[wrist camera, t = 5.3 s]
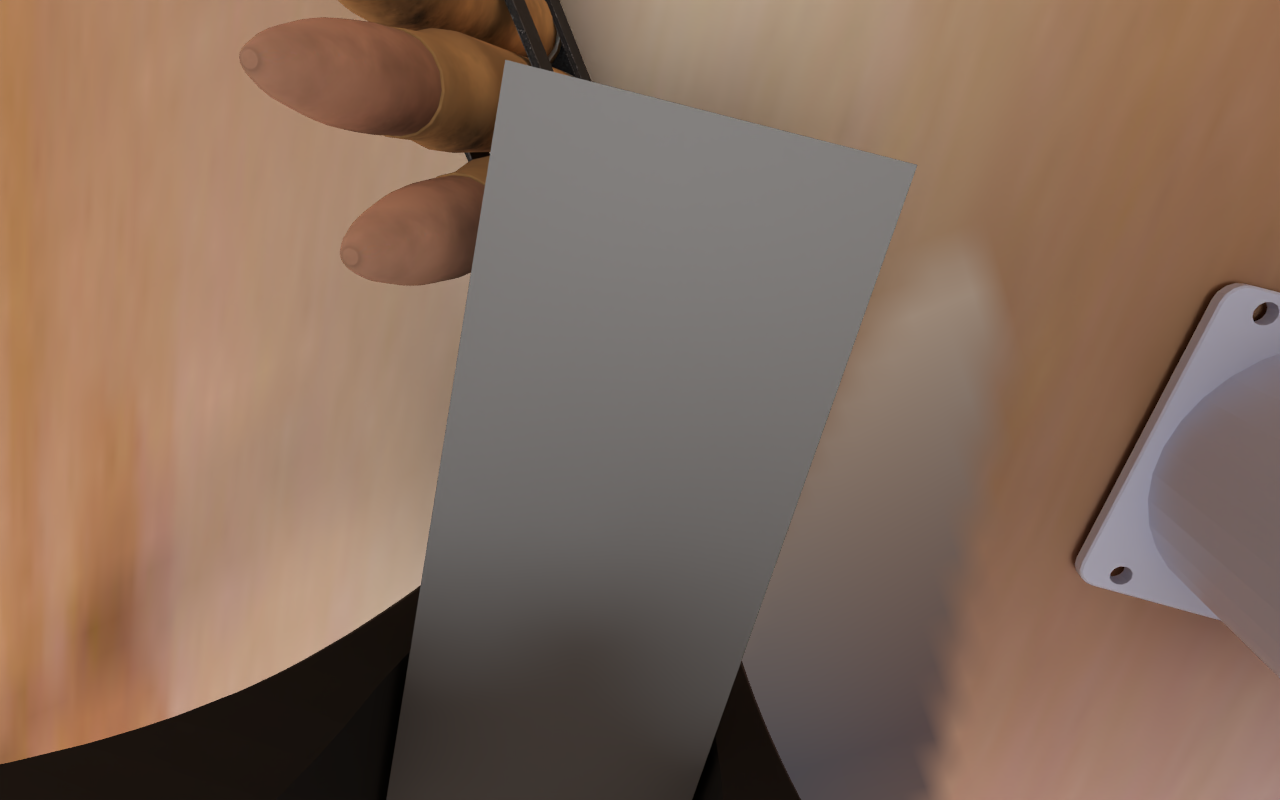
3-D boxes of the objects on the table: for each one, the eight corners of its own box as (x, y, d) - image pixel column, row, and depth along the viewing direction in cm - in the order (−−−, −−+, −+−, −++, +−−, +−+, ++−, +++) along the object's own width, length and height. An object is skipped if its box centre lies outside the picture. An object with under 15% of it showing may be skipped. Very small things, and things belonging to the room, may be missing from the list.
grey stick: (843, 156, 12) (917, 164, 7) (597, 925, 18) (547, 1205, 13) (596, 93, 12) (505, 59, 7) (436, 878, 18) (331, 1139, 13)
